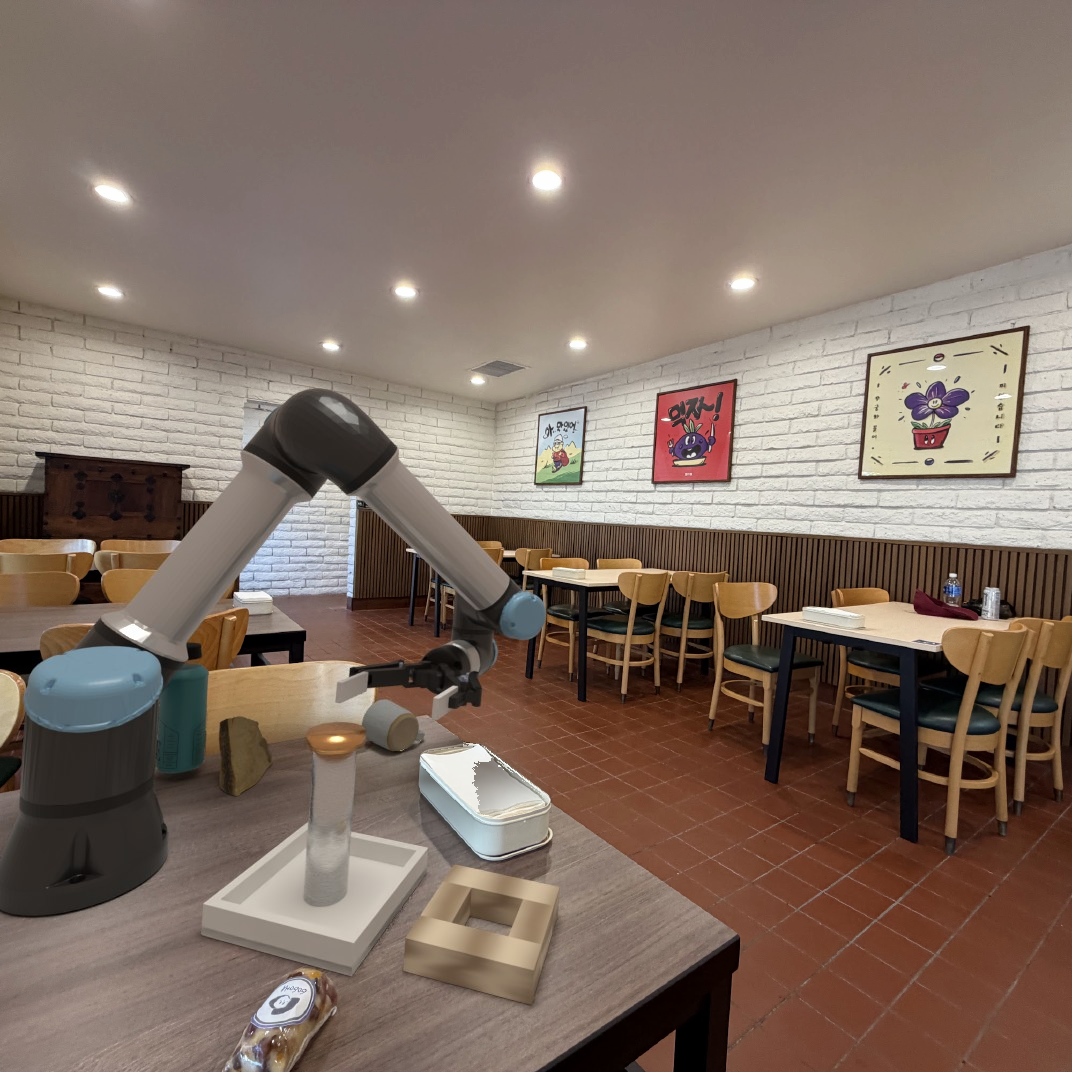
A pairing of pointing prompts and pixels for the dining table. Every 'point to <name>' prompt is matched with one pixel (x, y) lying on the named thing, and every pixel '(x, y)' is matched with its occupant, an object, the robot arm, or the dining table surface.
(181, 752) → the beverage bottle
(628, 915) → the dining table surface
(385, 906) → the tray
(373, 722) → the ceramic mug
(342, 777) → the steel pin
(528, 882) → the block
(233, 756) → the rock
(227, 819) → the dining table surface
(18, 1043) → the dining table surface
